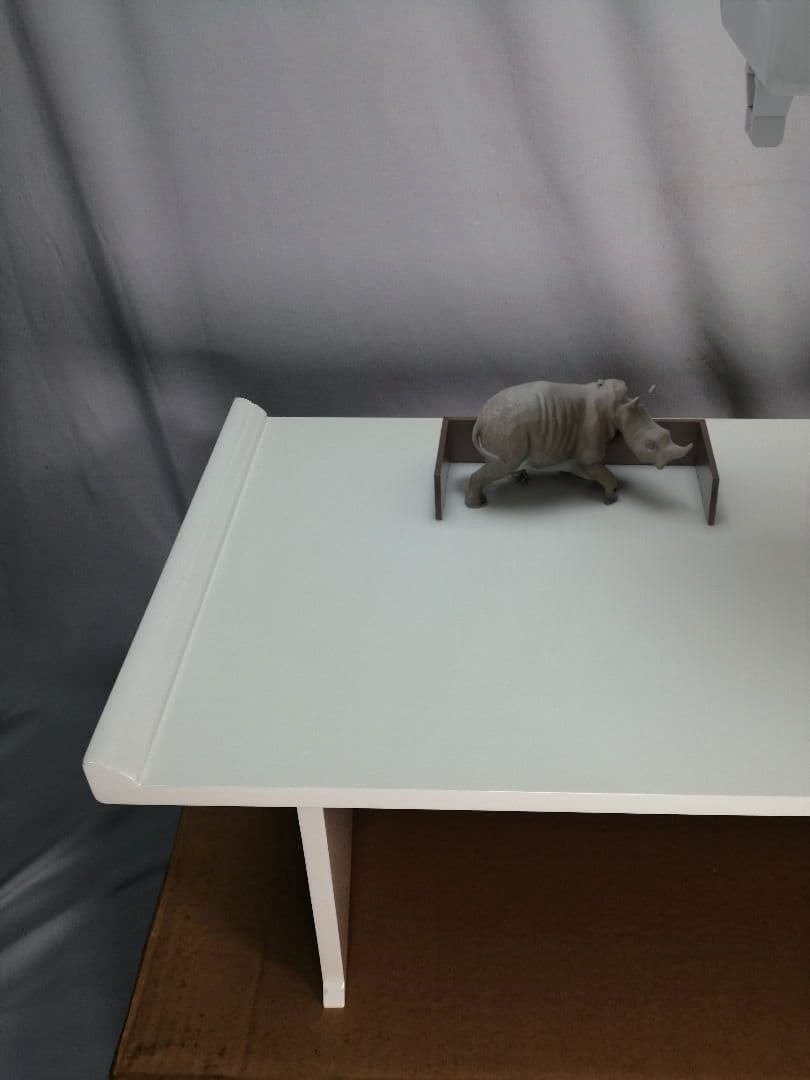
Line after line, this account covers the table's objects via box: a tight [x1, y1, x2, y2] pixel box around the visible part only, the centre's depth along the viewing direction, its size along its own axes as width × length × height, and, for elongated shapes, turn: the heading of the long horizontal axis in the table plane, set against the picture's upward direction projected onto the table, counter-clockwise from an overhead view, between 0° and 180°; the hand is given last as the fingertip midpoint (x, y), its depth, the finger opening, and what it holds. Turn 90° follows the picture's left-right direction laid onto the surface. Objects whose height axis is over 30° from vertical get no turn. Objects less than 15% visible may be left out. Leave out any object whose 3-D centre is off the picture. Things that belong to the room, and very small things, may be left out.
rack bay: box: [433, 416, 720, 525], centre depth 92 cm, size 21×10×4 cm, turn 84°
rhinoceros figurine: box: [464, 378, 693, 508], centre depth 91 cm, size 8×14×15 cm
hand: (762, 141), depth 69 cm, fingers closed
